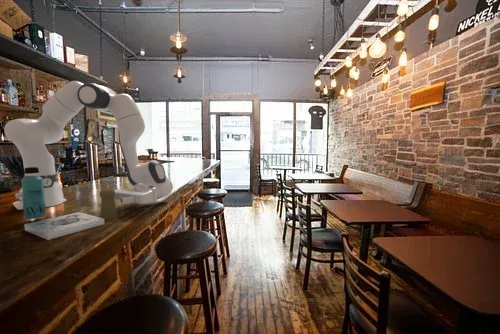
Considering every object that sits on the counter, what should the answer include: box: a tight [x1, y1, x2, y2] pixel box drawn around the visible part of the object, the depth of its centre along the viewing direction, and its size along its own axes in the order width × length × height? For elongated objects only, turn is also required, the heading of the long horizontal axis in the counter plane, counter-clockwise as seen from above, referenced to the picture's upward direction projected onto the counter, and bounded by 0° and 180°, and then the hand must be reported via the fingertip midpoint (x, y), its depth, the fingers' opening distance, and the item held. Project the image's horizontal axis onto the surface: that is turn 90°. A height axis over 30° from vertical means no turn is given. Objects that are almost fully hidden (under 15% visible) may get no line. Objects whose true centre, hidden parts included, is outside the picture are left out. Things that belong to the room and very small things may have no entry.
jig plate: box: [24, 211, 105, 241], centre depth 90 cm, size 17×17×2 cm
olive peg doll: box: [99, 188, 119, 221], centre depth 100 cm, size 6×6×11 cm
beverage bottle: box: [20, 167, 47, 220], centre depth 96 cm, size 6×7×20 cm
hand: (113, 199), depth 102 cm, fingers open, 8 cm apart
